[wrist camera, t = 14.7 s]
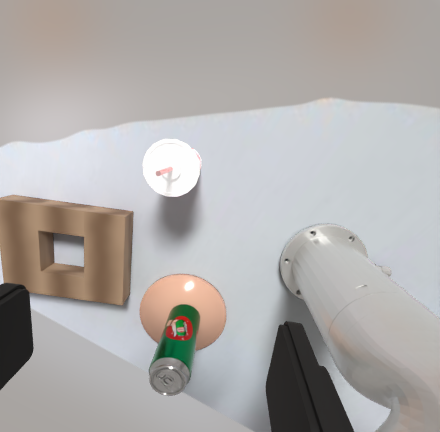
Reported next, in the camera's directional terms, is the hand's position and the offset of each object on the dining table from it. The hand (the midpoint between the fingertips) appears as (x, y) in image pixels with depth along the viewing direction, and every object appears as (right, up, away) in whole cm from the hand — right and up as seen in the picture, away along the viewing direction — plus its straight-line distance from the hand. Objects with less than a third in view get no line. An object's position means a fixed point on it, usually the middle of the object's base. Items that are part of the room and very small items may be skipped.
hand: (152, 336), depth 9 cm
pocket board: (-20, 0, +30) cm, 36 cm away
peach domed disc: (-3, -11, +33) cm, 35 cm away
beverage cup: (-2, +12, +26) cm, 29 cm away
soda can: (-3, -12, +32) cm, 34 cm away
